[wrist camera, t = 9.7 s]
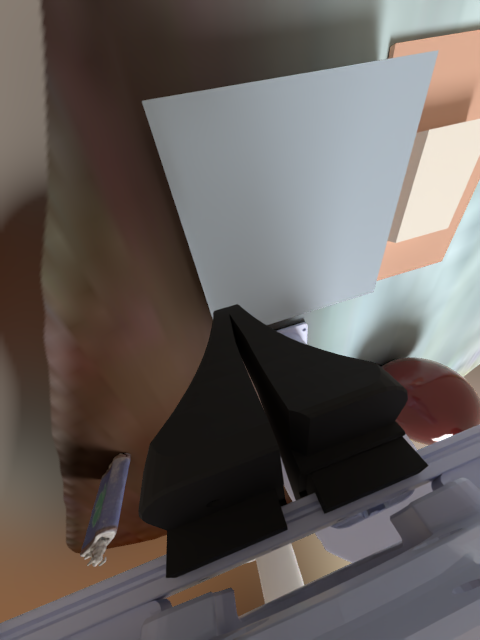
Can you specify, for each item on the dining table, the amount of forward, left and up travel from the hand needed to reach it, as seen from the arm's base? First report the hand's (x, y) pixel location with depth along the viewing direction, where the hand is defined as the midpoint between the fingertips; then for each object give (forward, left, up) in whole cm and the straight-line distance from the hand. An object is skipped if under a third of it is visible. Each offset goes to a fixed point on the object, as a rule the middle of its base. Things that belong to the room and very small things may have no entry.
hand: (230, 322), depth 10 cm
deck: (+2, -7, -9) cm, 12 cm away
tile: (+2, -21, -7) cm, 22 cm away
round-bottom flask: (-28, -27, -10) cm, 40 cm away
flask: (-29, +24, -10) cm, 39 cm away
